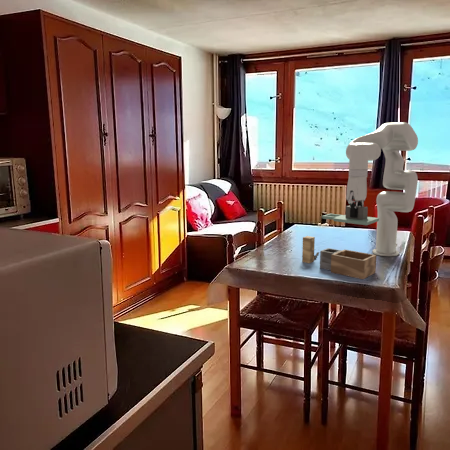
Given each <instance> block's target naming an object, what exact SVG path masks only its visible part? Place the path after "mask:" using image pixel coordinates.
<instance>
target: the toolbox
mask: <svg viewBox="0 0 450 450" xmlns="http://www.w3.org/2000/svg"><path fill="white" fill-rule="evenodd" d="M319 269H323V270H327V271H330V273H332V274H337V275H341V276H345V277H351V278H355V279H361V280H365V279H367V278H368V277H370V276H373V275H374V274H376V272H377V271H376V269H377V255H376V254H374V253H366V252H362V251H361V252H360V251H357V250H356V251H355V250H349V249H335V248H330V247H327V248H325V249H323V250H319Z"/></svg>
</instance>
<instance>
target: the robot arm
mask: <svg viewBox="0 0 450 450" xmlns="http://www.w3.org/2000/svg"><path fill="white" fill-rule="evenodd" d="M418 144H419V139H418V135H417V133H416V131H415V130H414V128H413V127H412V126H411V124H409V123H408V122H405V121H403V122H402V121H401V122H385V123H382V124H381V125H380V126H379V127H378V128H377V129H376V130H374V131H373V132H370V133H367V134H364V135H361V136H359V137H356V138H354V139H352V140H351V141H350V142H349V143H348V145H347V146H346V149H345V156H346V158H347V159H348V160H349V161H348V163H349V164H348V166H349V167H348V180H347V186H346V194H345V195H346V196H345V197H346V198H345V199H346V201H347V202H348V204H349V205H350V217H354V218H357V217H358V208H357V206H363V207H365V201H366V198H367V193H368V184H367V183H368V182H367V180H368V179H367V178H368V173H369V171H368V170H369V161H370V162H371V161H372V162H373V161H376V160H377V159H379V157H381V152H383V154H384V158H385V164H384V170H383V171H384V172H383V177H382V178H383V179H382V186H383V188H386V189H387V190H386V191H385V190H384V191H381V192H379V193H378V194H377V196H376V200H375V202H376V209H377V218H379V221H377V222H376V239H375V240H376V241H375V248H374V249H372V254H374V255H376V256H380V257H397V256H399V254H400V251H398V250H397V247H398V243H397V240H398V239H397V234H398V223H399V222H398V221H399V220H398V217H397V215H396V213H395V212H397V213H398V212H400V213H409V212H412V211H413V209H414V207H415V202H416V195H417V189H418V178H419V177H418V174H417V172H415V171H414V170H408V169H407V170H406V169H405V170H404V165H405V160H404V157H403V155H401V153H400V151H401V152H402V151H403V152H407V151H408V152H410V151H414V150H416V149H417V147H418ZM389 190H391V191H389ZM392 190H401V191H392ZM402 190H403V192H402ZM349 205H348V206H349Z"/></svg>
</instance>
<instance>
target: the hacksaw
mask: <svg viewBox="0 0 450 450" xmlns="http://www.w3.org/2000/svg"><path fill="white" fill-rule="evenodd" d="M319 255H320V251H319V252H316V254H314V261H316V260H317V258H318V256H319Z"/></svg>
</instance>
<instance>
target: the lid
mask: <svg viewBox="0 0 450 450" xmlns="http://www.w3.org/2000/svg"><path fill="white" fill-rule="evenodd" d="M357 208H358V217H357V218H354V217H350V205H346V206H345V214H337V213H336V214H335V213H327V214H325V215H321V219H324V220H333V222H338V223H339V222H340V223H345V224H354V225H360V226H361V225H363V226H368V225H371V224H375V223H377V221H379V218H378V217H374V216H373V217H372V216H368V211H369V208H368V206H357Z"/></svg>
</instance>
